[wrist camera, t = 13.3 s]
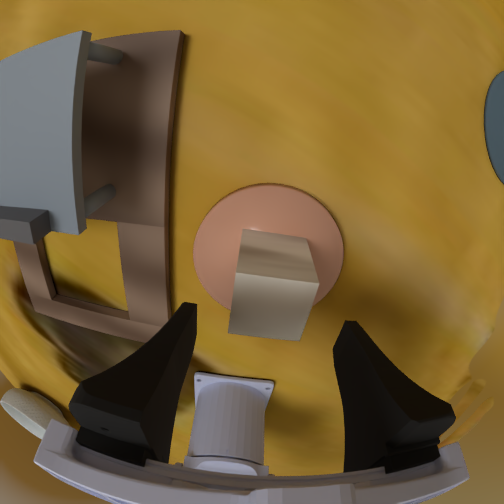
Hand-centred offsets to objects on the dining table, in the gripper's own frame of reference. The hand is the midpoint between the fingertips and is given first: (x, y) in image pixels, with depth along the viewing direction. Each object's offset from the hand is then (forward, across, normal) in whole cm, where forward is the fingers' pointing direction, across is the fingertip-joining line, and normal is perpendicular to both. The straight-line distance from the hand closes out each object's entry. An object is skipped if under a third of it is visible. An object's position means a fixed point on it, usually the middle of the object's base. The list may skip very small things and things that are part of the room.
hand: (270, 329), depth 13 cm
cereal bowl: (+8, +37, +40) cm, 55 cm away
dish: (+7, 0, 0) cm, 7 cm away
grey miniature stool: (+6, +15, -8) cm, 18 cm away
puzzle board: (+7, +15, -2) cm, 17 cm away
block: (+6, 0, 0) cm, 6 cm away
